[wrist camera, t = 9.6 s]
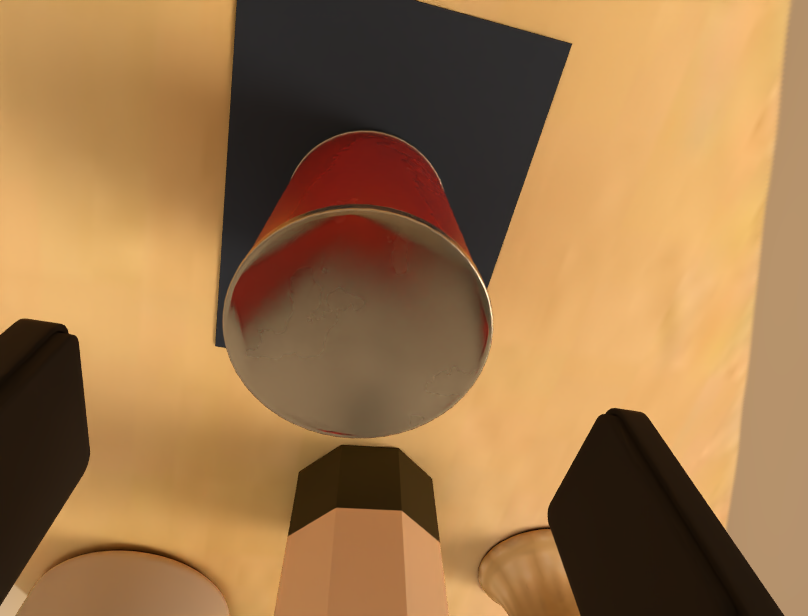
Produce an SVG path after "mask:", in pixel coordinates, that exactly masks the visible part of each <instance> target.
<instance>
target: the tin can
mask: <svg viewBox="0 0 808 616" xmlns="http://www.w3.org/2000/svg"><path fill="white" fill-rule="evenodd" d="M223 334H224V340H225V346H226V349H227V352H228V355H229V358H230V361H231V363H232V365H233V367H234V369H235V371H236V373H237V374H238V376H239V377H240V379H241V380H242V382H243V383H244V385H245V386H246V387H247V388H248V390H249V391H250V392H251V393H252V394H253V395H254V396H255V397H256V398H257V399H258V400H259V401H260V402H261V403H262V404H263V405H265V406H266V407H267V408H268V409H270V410H271V411H273V412H274V413H275V414H277V415H278V416H280V417H282V418H284V419H285V420H287V421H289V422H291V423H293V424H295V425H297V426H300V427H302V428H305V429H307V430H310V431H314V432H317V433H321V434H325V435H330V436H335V437H344V438H376V437H385V436H389V435H394V434H399V433H402V432H405V431H409V430H412V429H415V428H417V427H419V426H422V425H424V424H426V423H428V422H430V421H432V420H433V419H435V418H437V417H439V416H441V415H442V414H443V413H445V412H446V411H447V410H449V409H450V408H452V407H453V406H454V405H455V404H456V403H457V402H458V401H459V400H460V399H461V398H463V397H464V395H465V394H466V393H467V392H468V391H469V389H470V388H471V387H472V386H473V384H474V383H475V381H476V380H477V378H478V377H479V375H480V373H481V371H482V369H483V367H484V365H485V363H486V360H487V358H488V354H489V351H490V347H491V342H492V335H493V313H492V307H491V301H490V298H489V295H488V292H487V289H486V286H485V284H484V281H483V279H482V277H481V275H480V273H479V271H478V269H477V267H476V266H475V264H474V263H473V260H472V258H471V255H470V253H469V251H468V248H467V246H466V243H465V241H464V238H463V236H462V234H461V231H460V229H459V226H458V224H457V222H456V219H455V217H454V214H453V212H452V210H451V207H450V205H449V202H448V200H447V197H446V195H445V192H444V188H443V186H442V183H441V180H440V178H439V176H438V174H437V172H436V170H435V168H434V166H433V165H432V163H431V162H430V161H429V159H428V158H427V157H426V156H425V155H424V154H423V153H422V152H421V151H420V150H419V149H418V148H417V147H415V146H414V145H413V144H411V143H410V142H408V141H407V140H405V139H403V138H401V137H399V136H397V135H395V134H392V133H388V132H385V131H380V130H374V129H355V130H348V131H344V132H340V133H337V134H335V135H332V136H330V137H328V138H326V139H324V140H323V141H321V142H319V143H318V144H317V145H316V146H314V147H313V148H312V149H311V150H310V151H309V152H308V153H307V154H306V155H305V156H304V157H303V158H302V160H301V161H300V162H299V164H298V165H297V167H296V169H295V171H294V173H293V175H292V177H291V179H290V182H289V184H288V185H287V187H286V189H285V191H284V192H283V194H282V196H281V198H280V200H279V201H278V203H277V205H276V207H275V208H274V210H273V212H272V214H271V215H270V217H269V219H268V221H267V222H266V224H265V226H264V228H263V229H262V231H261V233H260V235H259V237H258V238H257V240H256V242H255V244H254V245H253V247H252V249H251V250H250V251H249V253H248V254H247V255H246V257H245V258H244V260H243V261H242V262H241V264H240V265H239V267H238V269H237V271H236V273H235V275H234V277H233V279H232V281H231V283H230V285H229V288H228V291H227V295H226V298H225V303H224V309H223Z"/></svg>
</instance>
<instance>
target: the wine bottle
mask: <svg viewBox="0 0 808 616" xmlns="http://www.w3.org/2000/svg"><path fill="white" fill-rule="evenodd" d="M274 616H449V612H448V604H447V596H446V588H445V580H444V572H443V564H442V556H441V548H440V540H439V532H438V523H437V515H436V507H435V499H434V491H433V483H432V479H431V478H430V477H429V476H428V475H427V474H426V473H425V472H424V471H423V470H422V469H420V468H419V467H418V466H417V465H416V464H415V463H414V462H413V461H412V460H411V459H410V458H408V457H407V456H406V455H405V454H404V453H403V452H402V451H401V450H400V449H399V448H382V447H365V446H348V445H341V446H339V447H338V448H336V449H334V450H333V451H331V452H330V453H328V454H327V455H325V456H323V457H322V458H320V459H319V460H317V461H316V462H314V463H312V464H311V465H309V466H308V467H306V468H305V469H303V470H301V471H300V472H299V475H298V481H297V487H296V492H295V498H294V504H293V510H292V515H291V521H290V527H289V532H288V538H287V544H286V550H285V555H284V561H283V567H282V572H281V578H280V584H279V590H278V595H277V601H276V607H275V612H274Z"/></svg>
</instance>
